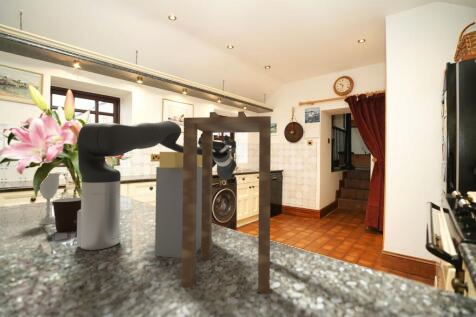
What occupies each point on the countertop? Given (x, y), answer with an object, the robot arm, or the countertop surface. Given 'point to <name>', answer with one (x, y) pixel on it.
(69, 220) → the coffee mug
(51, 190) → the chalice
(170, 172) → the block
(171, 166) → the yellow bar
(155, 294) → the countertop surface
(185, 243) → the stool
